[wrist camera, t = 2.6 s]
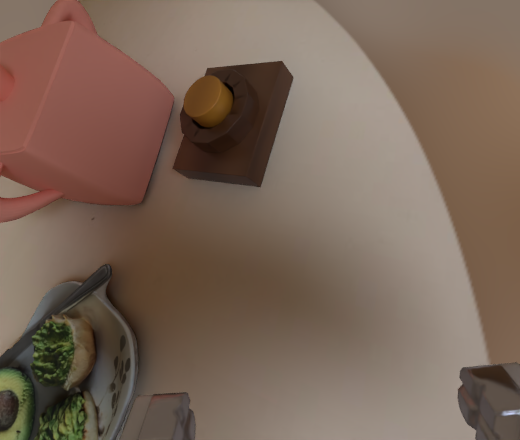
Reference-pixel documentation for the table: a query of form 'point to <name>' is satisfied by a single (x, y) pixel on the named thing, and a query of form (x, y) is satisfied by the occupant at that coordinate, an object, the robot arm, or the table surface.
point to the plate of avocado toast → (70, 367)
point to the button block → (237, 127)
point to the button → (208, 101)
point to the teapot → (76, 116)
